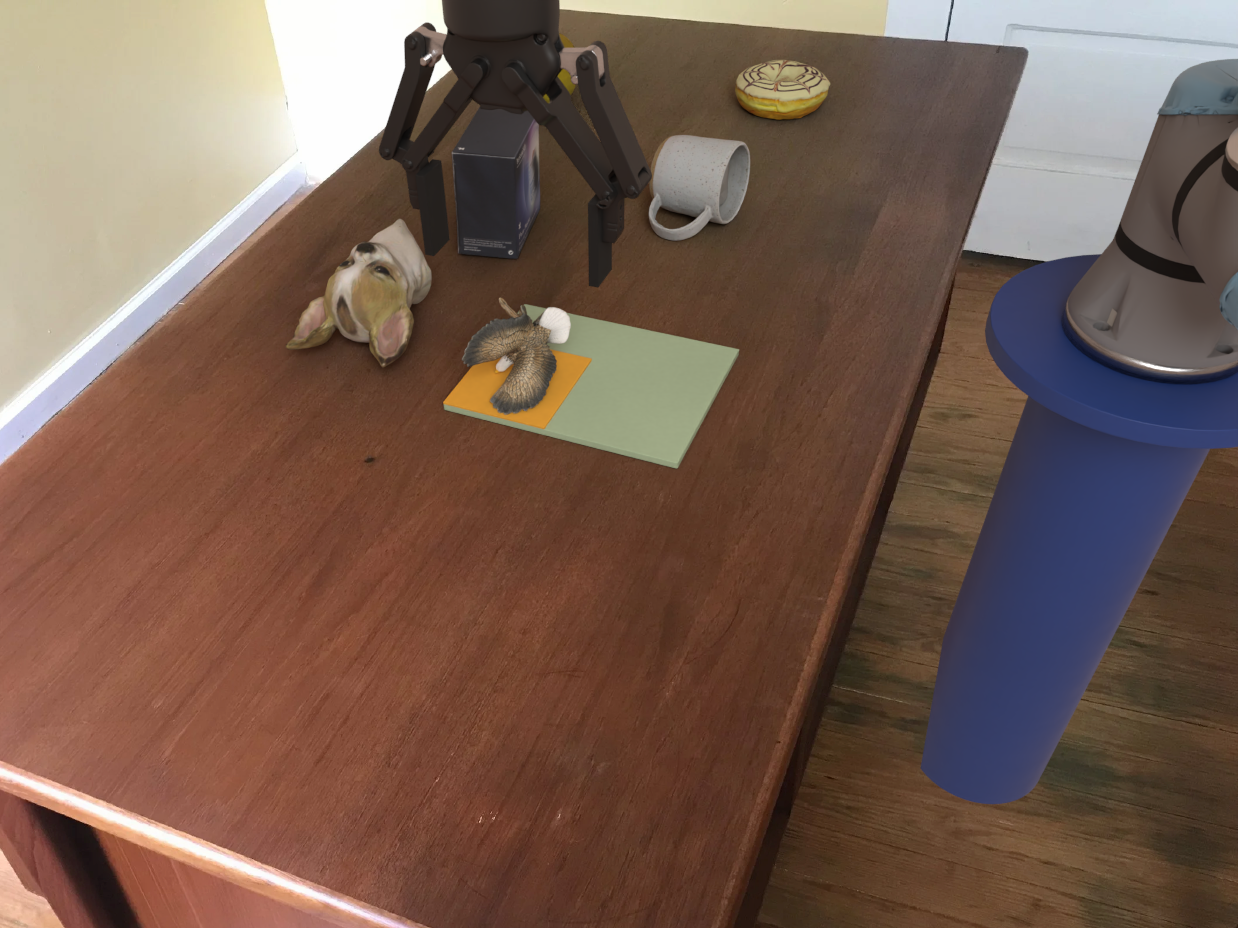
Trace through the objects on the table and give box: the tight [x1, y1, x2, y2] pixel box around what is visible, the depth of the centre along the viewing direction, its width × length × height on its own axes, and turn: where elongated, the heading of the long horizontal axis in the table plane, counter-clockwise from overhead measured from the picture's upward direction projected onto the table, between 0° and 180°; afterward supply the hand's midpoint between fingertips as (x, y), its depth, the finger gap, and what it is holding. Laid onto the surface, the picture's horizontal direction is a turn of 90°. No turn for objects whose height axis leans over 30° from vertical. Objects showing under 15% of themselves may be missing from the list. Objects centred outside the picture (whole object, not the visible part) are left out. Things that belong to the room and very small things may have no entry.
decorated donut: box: [734, 59, 831, 121], centre depth 127 cm, size 10×11×4 cm
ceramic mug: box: [648, 134, 751, 242], centre depth 108 cm, size 11×8×8 cm
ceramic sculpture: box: [285, 218, 433, 368], centre depth 96 cm, size 11×9×15 cm
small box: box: [451, 106, 541, 260], centre depth 107 cm, size 11×6×10 cm, turn 167°
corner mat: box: [442, 303, 740, 470], centre depth 91 cm, size 20×16×1 cm
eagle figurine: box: [461, 297, 571, 415], centre depth 89 cm, size 8×7×9 cm
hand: (516, 262), depth 83 cm, fingers open, 13 cm apart
